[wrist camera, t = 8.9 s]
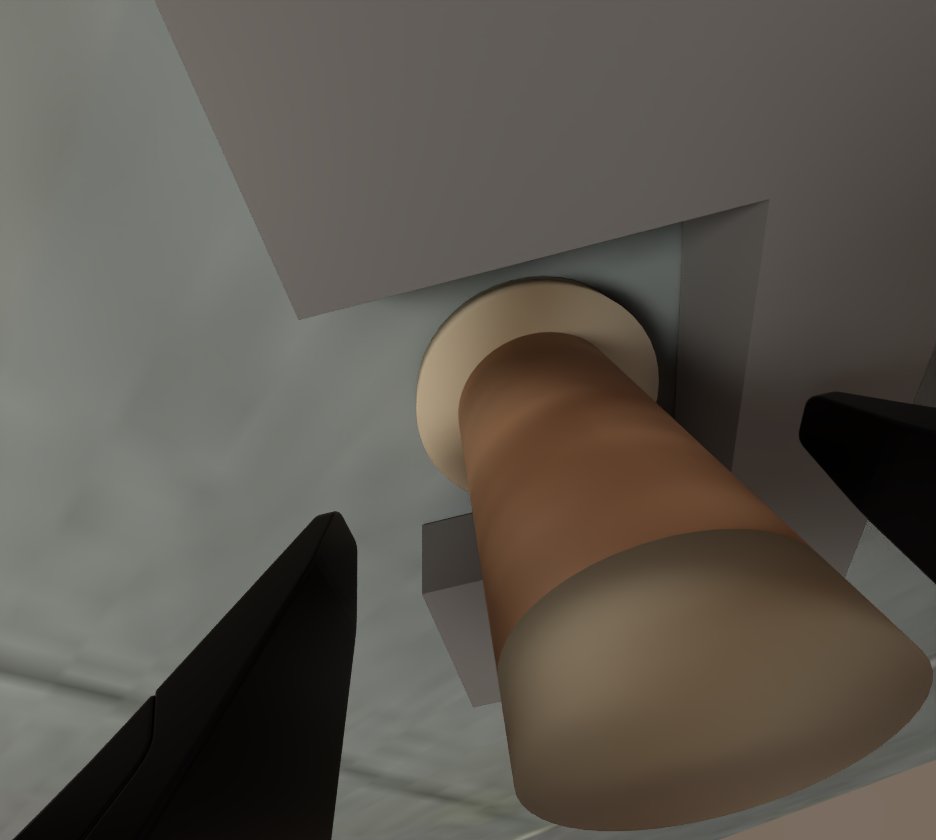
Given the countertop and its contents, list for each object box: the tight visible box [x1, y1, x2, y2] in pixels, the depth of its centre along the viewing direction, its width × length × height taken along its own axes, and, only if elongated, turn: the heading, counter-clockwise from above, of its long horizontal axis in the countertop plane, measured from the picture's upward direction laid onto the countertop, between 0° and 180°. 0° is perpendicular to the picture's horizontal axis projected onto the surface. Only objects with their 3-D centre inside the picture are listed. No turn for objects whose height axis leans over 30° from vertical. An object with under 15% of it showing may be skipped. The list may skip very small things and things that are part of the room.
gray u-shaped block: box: [155, 0, 936, 707], centre depth 10 cm, size 12×20×2 cm, turn 13°
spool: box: [416, 276, 933, 831], centre depth 7 cm, size 6×6×8 cm
